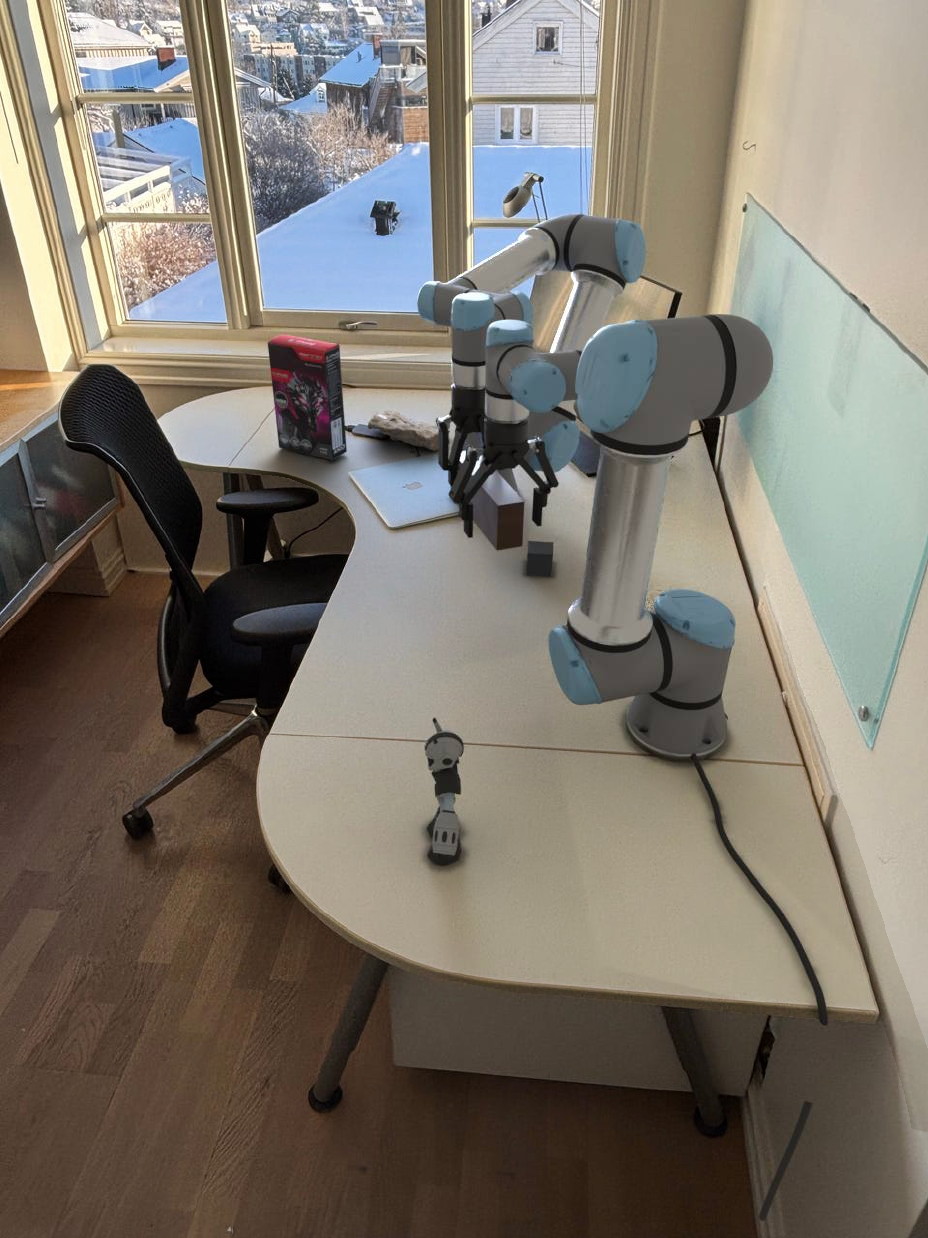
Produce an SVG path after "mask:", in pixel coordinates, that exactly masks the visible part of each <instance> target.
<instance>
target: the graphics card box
mask: <svg viewBox="0 0 928 1238" xmlns="http://www.w3.org/2000/svg"><path fill="white" fill-rule="evenodd" d="M340 347H341V346H340V343H335V342H333V343H332V342H328V341H322V340H317V339H311V338H306V337H300V336H295V335H289V334H285V333H282V334H279V335H277V336H274V337H273V338H271V339H270V340H268V341H267V351H268V359H269V367H270V369H269V370H270V377H271V378H270V379H271V385H272V386H271V387H272V395H273V403H274V412H275V413H274V414H275V423H276V433H277V441H278V442H277V443H278V448H279V449H283V450H287V451H288V450H289V451H292V452H297V453H301V454H305V455H309V456H314V457H317V458H322V459H326V460H330V461H333V460H335V459H337V458H339V457H340V456H342V455H344V454H345V453H347V451H348V449H347V447H348V446H347V434H346V420H345V407H344V406H345V405H344V393H343V380H342V364H341V363H342V362H341V349H340Z"/></svg>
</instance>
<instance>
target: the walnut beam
mask: <svg viewBox="0 0 928 1238" xmlns="http://www.w3.org/2000/svg"><path fill="white" fill-rule="evenodd" d="M465 453H466V451H462V454H461V458H460V461H459V465H458V469H459V470H460V468H461V466H462V463H463V461H464V459H465ZM483 459H484V456H483V455H481V456H480V458H479V461H477V462H476V466H475V468H474V470H473V472H472V475H471V477H470V479H471V478H472V476H473V475H474V474H475V472H476V471H477V470H478V468H479V467H480V464H481V462H482V461H483ZM490 465H491V464H489V466H490ZM470 479H469V480H470ZM468 482H469V481H468ZM471 502H472V504H473V523H474V524H475V525H476V526H477V528H478V529H479V530H480V532H482V534H483V535H484V536H485V538H486V539H487V540H488V541H489V543H490V544H491V545H492V546H493V548H494V549H495V550H496V551H497V552H498V551H504V550H510V549H516V548H521V547H523V541H524V540H523V539H524V520H525V500H524V499H523V498H522V497H521V496H520V495H519V494H518V492H517V493H516V492H515V491H514V489H513V488H512V487H511V486H510V485H509V484H508V483H507V482H506V481H505V480H504V478H503V477H502V476H501V475H500V474H499V473H498V472H497V471H495V472H494V473H493V474H492V475H490V476H489V477H488V478H487V480H486V481H485V482H484V484H483V485H482V486H481V488H480V489H479V490H478V492H477V493H476V494H475V496H474V497H473V498H472V499H471Z"/></svg>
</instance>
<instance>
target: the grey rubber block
mask: <svg viewBox="0 0 928 1238" xmlns="http://www.w3.org/2000/svg"><path fill="white" fill-rule="evenodd" d="M554 546H555V545H554V541H540V540H539V541H538V540H528V541H527V553H526V555H527V556H526V574H525V575H526V576H535V577H552V576H553V564H554Z"/></svg>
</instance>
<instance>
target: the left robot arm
mask: <svg viewBox="0 0 928 1238" xmlns="http://www.w3.org/2000/svg"><path fill="white" fill-rule="evenodd" d="M646 255H647V242H646V236H645V233H644V230H643V228H642V227H641V226H640V224H638V223H637V222H635V221H632V220H631V221H630V220H625V219H623V218H611V217H604V216H597V215H590V214H583V213H576V212H575V213H566V214H562V215H561V214H560V215H558V216H555V217H552V218H549V219H546V220H543V221H541V222H539V223H537V224H535V225H533V226H531V227H530V228H527V229H526V230H525V231H523V232H522V233H521V234H520V236H519V237H518V240H517V241H515V242H514V243H512V244H511V245H508V246H507V247H506V248H504V249H502V250H500V251H499V252H497V253H495V254H494V255H492V256H490V257H489V258H487V259H485V260H483V261H482V262H480V263H478V264H476V265H475V266H473V267H471V268H470V269H468V270H467V271H464V272H463V273H461V274H459V275H458V276H456V277H454V278H453V279H451V280H449V281H447V282H442V281H432V280H431V281H430V280H429V281H427V282H425V283H424V284H423V285H422V286H421V288H420V289H419V291H418V294H417V299H416V307H417V312H418V315H419V316H420V318H421V319H422V320H423V321H425V322H428V323H431V324H434V325H437V326H444V327H449V328H450V329H451V330H450V331H451V333H450V334H451V382H452V384H451V385H450V389H451V392H450V394H451V395H450V397H451V401H450V402H451V408H450V411H449V413H448V415H446V416H444V417H440V416H438V417H436V419H435V423H436V424H435V425H437V426H438V429H439V448H438V453H437V454H438V458H437V459H438V460H437V461H438V462H437V463H438V466H439V467H440V468H441V469H442V471H444V472H447V482H448V485H449V486H450V488H451V487H452V485H453V483H454V481H455V479H456V477H457V474H458V472H459V469H458V465H459V461H460V458H461V454H462V451H466V447H467V446H469V445H470V446H472V447H473V448H480V447H482V446H483V444H484V419H485V417H486V415H485V370H486V348H485V345H486V337H487V329H488V327H489V325H491V324H492V323H494V322H497V321H501V320H518V321H523V322H526V323H528V324H530V325H531V324H532V323H533V319H534V306H533V303H532V301H531V299H530V298H529V296H528V295H526V294H525V293H524V292H522V291H519V290H514V289H515V288H516V287H518V286H520V285H522V284H523V283H524V282H526V281H528V280H530V279H531V278H532V277H534V276H544V275H546V274H548V273H550V272H553V271H557V272H559V271H561V272H568V273H570V278H571V280H572V282H573V288H572V291H571V293H570V295H569V299H568V301H567V305H566V307H565V310H564V313H563V315H562V318H561V321H560V323H559V326H558V329H557V332H556V334H555V337H554V340H553V343H552V344H551V348H550V351H549V352H560V351H570V350H583V349H584V348H585V346H586V344H587V342H588V341H589V339H590V338H591V337H592V336H593V335H594V334H596V332H597V331H598V330H600V329H601V328H603V327H604V324H605V322H606V319H607V317H608V313H609V311H610V309H611V305H612V302H613V300H614V299H615V298H616V299H617V298H618V297H620V296H622V294H624V291H625V288H626V286H627V284H633V283H636V282H638V280H639V279H640V278H641V276H642V274H643V272H644V267H645V264H646V257H647V256H646ZM512 290H513V291H512ZM575 403H576V400H570V401H561V403H560V404H559V405H558V406H557V407H555V408H553V409H552V410H550V411H549V412H546V413H534V412H531V411H529V416H528V419H529V429H528V438H527V440H528V441H530V440H533V438H534V437H535V436H538V437H539V438H540V439H541V440H543V441H544V442H545V453H546V456H547V458H548V460H549V462H550V465H551V467H552V469H553V472H554V474H555V473H558V472H560V471H562V469H564V468H566V467H567V465H569V463H570V462H571V460H572V459H573V457H574V456H575V453H576V451H577V449H578V446H579V443H580V439H579V438H580V436H581V430H580V426H579V424H577V423H576V421H577V418H578V415H577V413H576V410H575V408H574V406H575ZM451 423H453V424H454V425H455V428H454V437H453V440H452V445H451V448H450V432H448V430H450V428H451ZM449 449H450V450H449ZM449 451H450V452H449ZM483 456H484V455H483ZM484 458H485V456H484ZM524 459H525V460H526V461H527V462H528V464H529V465H530V466H531V467H532V468H533V470H534V471H535V472H542V473H543V470H542V468H541V466H540V464H539V461H538V459H537V457H536V455H535V452H533V451H532V450H531V448H529V451H528V452H527V454H526V455H525V456H524ZM496 471H497V472H498V473H499V474H500V475H501V476H502V477H503V478H504V480H505V481H506V482H507V483H508V484H509V485H510V486H511V487H512V488H513V489H514V491H515V492H516V493H517V494H518V484H517V481H516V477H515V474H514V471H513V469H509V468H507V469H504V470H500V471H499V470H498V469H496ZM456 504H458V505H459V503H456Z"/></svg>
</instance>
